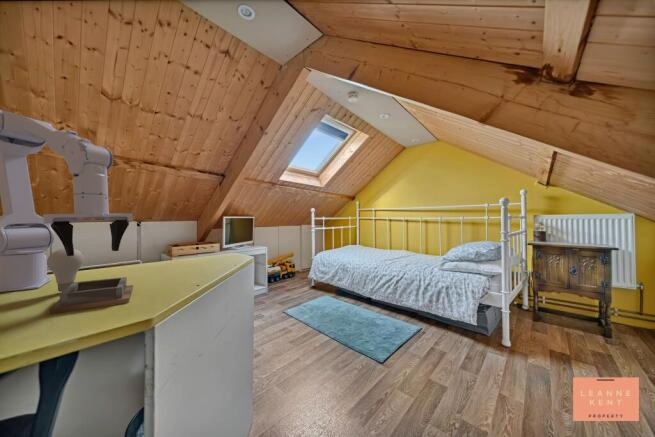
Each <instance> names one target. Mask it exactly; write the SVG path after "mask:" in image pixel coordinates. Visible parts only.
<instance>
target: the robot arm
mask: <svg viewBox="0 0 655 437" xmlns="http://www.w3.org/2000/svg"><path fill="white" fill-rule="evenodd" d="M78 135H79V134H78V132H76V131H74V130H70V129H66V130H63V129H62V130H59V129H57V128H55V127H54V126H53V125H52V124H51V123H49V122H47V121H45V120H44V121H43V120H38V119H34V118H31V117H28V116H24V115H20V114H18V113H13V112H10V111H6V110H3V109H0V203H1V209H2V215H0V293H3V292H5V293H6V292H12V291H13V292H14V291H23V290H33V289H39V288H41V287H43V286H44V285H45V284H46V283H48V282H50V281H51V280H53V277H48V265H47V259H48V256H47V255H46V253H45V252H48V251H49V248H51V247H52V246H53V244H54V243H55V240H56V235H57V237H58V238H59V240H60V242H61V244H62V246H63V247H64V248H65V251H66V255H67V256H74V249H75V248H74V242H73V239H74V236H73V234H74V225H73V223H76V224H77V223H78V224H79V223H108V222H109V224H108V225H109V230H110V236H111V251H112V252H118V251H119V250H120V245H121V242H122V239H123V236H124V234H125V232H126V230H127V229H128V228H129V226H130V222H133V213H110V210H109V209H110V207H109V206H110V204H109V184H108V180H109V179H108V170H110V169H111V168H112V166H113V164H114V155H113V152H112V151H111V150H110V149H109V148H108V147H106V146H99V145H95V144H93V143H92V141H91V140H89V139H87V138H83V137H80V136H78ZM46 145H47V146H48V148H49V149H50V150H51V151H53V152H55V153H57V154H59V155H60V156H62V157H64V158H63V159H64V160H65V163H66V164H67V166H68V172H69V174H70V175H72V187H73V188H72V189H73V190H72V191H73V213H45V214H43V216H41V215H39V214H37V213H36V209H35V204H34V197H33V190H32V185H31V184H32V183H31V180H30V179H31V178H30V172H29V167H28V160H27V156H28V155H32V154H38V153H39V152H40V151H41V150H42V149H43V148H44V147H45V146H46ZM99 218H101V219H99ZM84 219H85V220H84ZM86 219H87V220H86ZM110 222H111V223H110Z"/></svg>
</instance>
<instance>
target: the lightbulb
mask: <svg viewBox="0 0 655 437" xmlns="http://www.w3.org/2000/svg"><path fill="white" fill-rule="evenodd" d="M84 261H85V256H84V254H83V253H82V251H80V250H78V249H76V248H74V256H67V255H66V251H65V248H60V249H56V250H55V251H53V252H52V253H51V254H50V255H49V256H47V268H48V269H49V270H50V271H51V272H52V273H53V275H54V278H55V283H56V284H57V291H58V292H60V293H62V292H63V291H64V290H66V289H67V288H68V287H69V286H70V285H71V284H72V283H73V282H76V277H77V273H79V272H78V271H79V270H80V269H81V267H82V266H83V265H84V263H85V262H84Z"/></svg>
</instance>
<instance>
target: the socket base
mask: <svg viewBox="0 0 655 437" xmlns="http://www.w3.org/2000/svg"><path fill="white" fill-rule="evenodd" d="M127 281H128V280H127V276H124V277H123V276H122V277H114V278H103V279H94V280H93V279H92V280H84V281H83V280H82V281H74V282H73V283H72V284H71V285H70V286H69V287H68V288H67V289H66V290H64V291H63V292H60V294H59V299H58V300H57V301H56V302H55V303H54V304H53V305H52V306H51V307H50V308H49V309H48V315H53V314H60V313H68V312H72V311H73V312H74V311H81V310H87V309H93V308H102V307H107V306H115V305H122V304H129V302H130V300H131V297H132V293H133V290H134V285H132V284H130V285H129V284H127Z"/></svg>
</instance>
